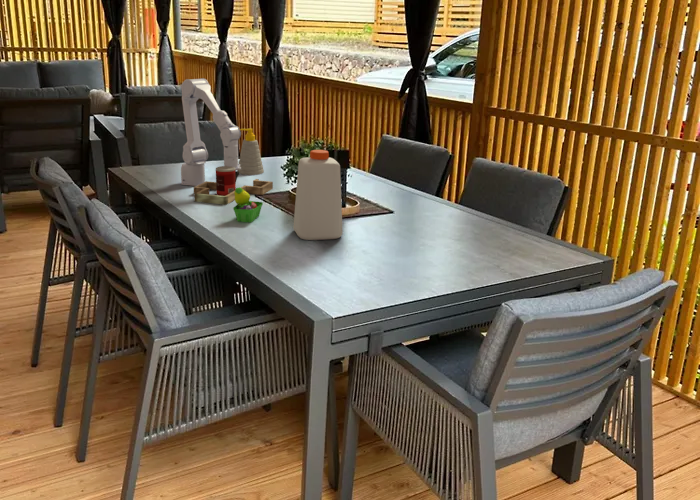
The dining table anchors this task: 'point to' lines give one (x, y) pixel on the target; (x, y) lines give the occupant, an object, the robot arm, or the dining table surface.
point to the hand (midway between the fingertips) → (231, 189)
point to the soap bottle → (250, 156)
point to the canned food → (225, 180)
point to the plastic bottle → (318, 198)
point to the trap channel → (203, 193)
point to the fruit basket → (246, 206)
